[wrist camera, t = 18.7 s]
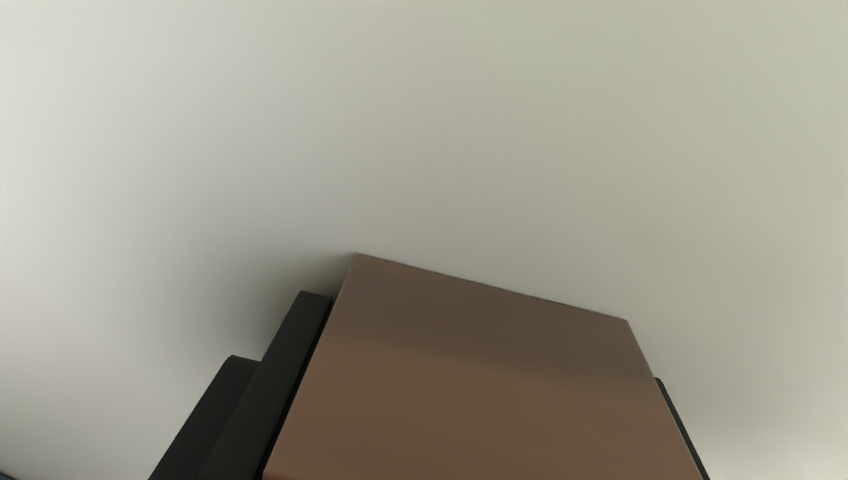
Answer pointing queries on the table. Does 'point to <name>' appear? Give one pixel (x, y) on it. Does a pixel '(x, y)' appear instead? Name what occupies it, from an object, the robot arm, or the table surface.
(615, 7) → the table surface
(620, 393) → the block
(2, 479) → the canister
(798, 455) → the table surface
